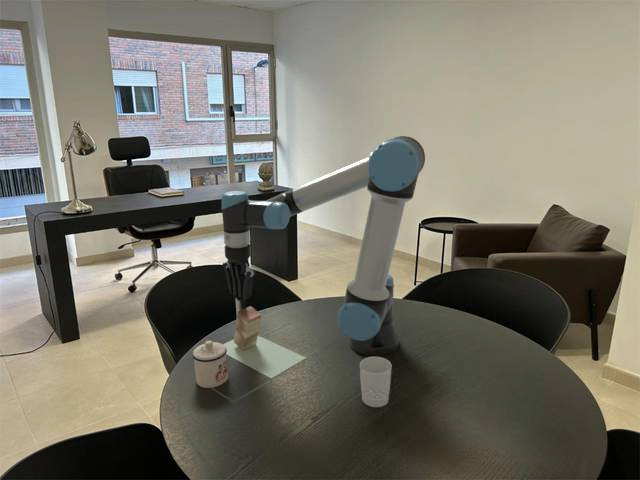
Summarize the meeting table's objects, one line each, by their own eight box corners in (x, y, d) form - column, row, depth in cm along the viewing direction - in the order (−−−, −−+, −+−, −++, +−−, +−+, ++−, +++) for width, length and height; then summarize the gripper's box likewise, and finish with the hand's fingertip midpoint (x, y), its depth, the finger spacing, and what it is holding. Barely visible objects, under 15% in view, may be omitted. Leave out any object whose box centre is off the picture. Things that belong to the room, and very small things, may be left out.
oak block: (256, 345, 145) (261, 314, 140) (243, 351, 141) (248, 320, 136) (246, 336, 148) (250, 306, 142) (233, 342, 144) (237, 311, 139)
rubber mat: (306, 358, 137) (306, 357, 137) (271, 379, 127) (271, 378, 127) (249, 332, 154) (249, 331, 154) (214, 349, 144) (214, 348, 144)
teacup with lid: (222, 390, 123) (218, 351, 119) (190, 388, 124) (185, 349, 121) (237, 366, 134) (234, 329, 131) (207, 364, 136) (203, 328, 132)
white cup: (370, 413, 112) (371, 376, 109) (353, 395, 119) (353, 361, 116) (397, 403, 116) (398, 367, 113) (379, 387, 122) (379, 353, 120)
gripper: (213, 242, 137) (219, 314, 144) (241, 251, 129) (245, 328, 136) (234, 237, 142) (238, 307, 149) (261, 245, 134) (264, 319, 141)
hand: (241, 317), depth 143 cm, fingers closed
